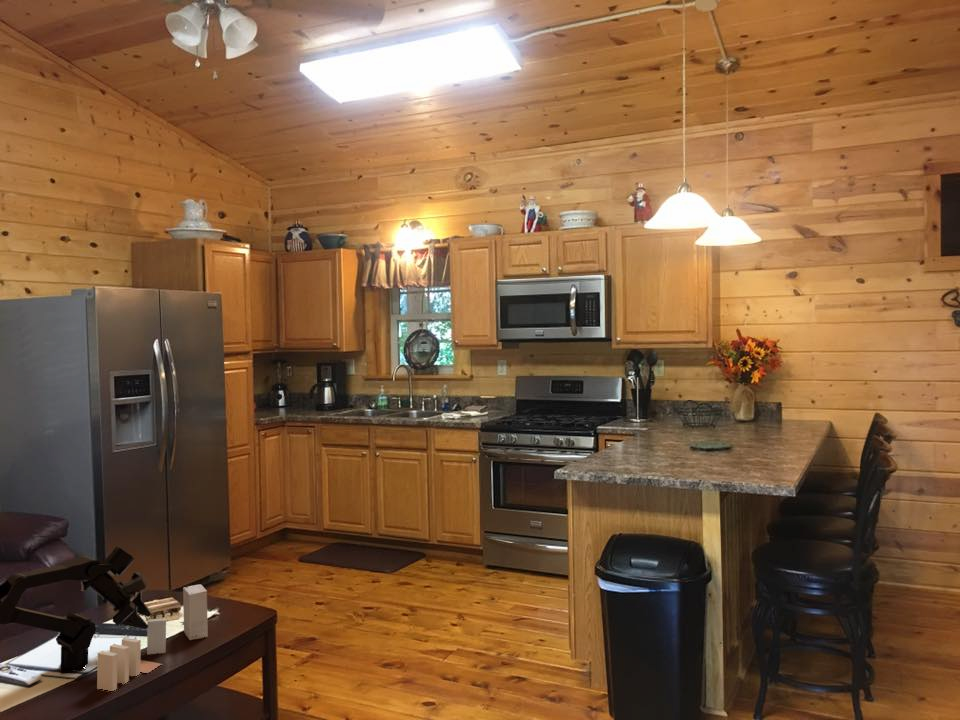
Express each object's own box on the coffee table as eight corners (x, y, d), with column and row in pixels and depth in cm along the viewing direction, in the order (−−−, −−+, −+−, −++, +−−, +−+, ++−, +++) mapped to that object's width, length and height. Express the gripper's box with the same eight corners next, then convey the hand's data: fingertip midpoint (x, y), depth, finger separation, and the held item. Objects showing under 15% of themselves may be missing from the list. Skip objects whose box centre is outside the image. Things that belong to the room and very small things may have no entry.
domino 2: (124, 684, 208) (125, 649, 208) (109, 681, 210) (109, 646, 209) (128, 681, 210) (129, 646, 209) (113, 678, 211) (114, 643, 210)
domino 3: (136, 677, 213) (136, 642, 212) (121, 674, 214) (121, 639, 213) (140, 674, 214) (140, 640, 213) (125, 671, 215) (125, 637, 215)
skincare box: (208, 637, 240) (208, 591, 239) (188, 641, 236) (188, 594, 235) (201, 627, 247) (202, 582, 246) (182, 631, 243) (182, 586, 242)
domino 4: (165, 652, 228) (165, 620, 227) (147, 654, 226) (147, 621, 226) (165, 650, 229) (166, 618, 229) (147, 652, 228) (148, 619, 227)
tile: (121, 669, 217) (121, 668, 217) (136, 660, 222) (136, 659, 222) (147, 674, 214) (147, 673, 214) (162, 665, 220) (162, 663, 220)
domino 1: (112, 692, 204) (112, 656, 203) (97, 689, 205) (97, 653, 205) (116, 689, 205) (117, 653, 205) (101, 686, 207) (101, 650, 206)
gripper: (125, 578, 215) (167, 613, 220) (133, 557, 233) (171, 590, 237) (94, 608, 213) (137, 642, 218) (104, 585, 231) (143, 617, 235)
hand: (148, 621), depth 227 cm, fingers open, 9 cm apart
